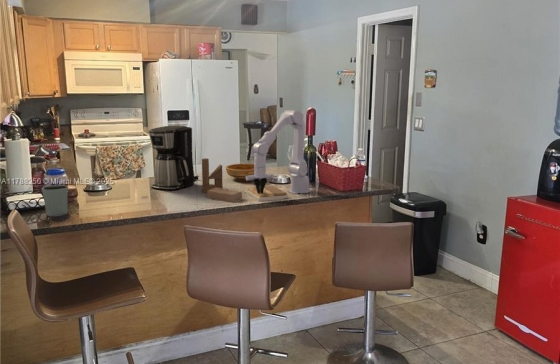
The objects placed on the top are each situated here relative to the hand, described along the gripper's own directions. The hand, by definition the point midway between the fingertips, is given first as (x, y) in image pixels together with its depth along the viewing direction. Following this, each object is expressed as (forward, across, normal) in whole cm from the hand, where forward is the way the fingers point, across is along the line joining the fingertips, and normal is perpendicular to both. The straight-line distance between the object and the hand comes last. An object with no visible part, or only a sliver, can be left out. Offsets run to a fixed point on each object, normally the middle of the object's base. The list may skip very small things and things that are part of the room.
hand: (260, 193), depth 233 cm
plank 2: (+1, -2, 0) cm, 2 cm away
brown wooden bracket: (+3, +18, -25) cm, 31 cm away
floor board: (+3, -5, -5) cm, 7 cm away
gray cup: (+3, +93, -7) cm, 94 cm away
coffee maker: (+3, +31, -46) cm, 55 cm away
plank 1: (+1, -2, -9) cm, 10 cm away
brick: (+3, +17, -6) cm, 18 cm away
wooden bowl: (+3, -9, -49) cm, 49 cm away
